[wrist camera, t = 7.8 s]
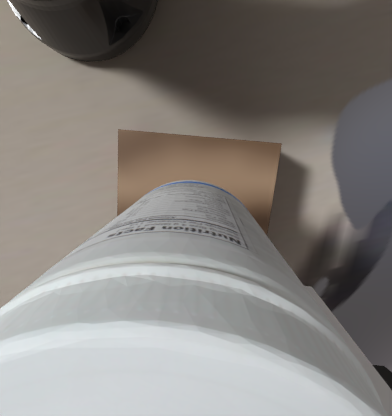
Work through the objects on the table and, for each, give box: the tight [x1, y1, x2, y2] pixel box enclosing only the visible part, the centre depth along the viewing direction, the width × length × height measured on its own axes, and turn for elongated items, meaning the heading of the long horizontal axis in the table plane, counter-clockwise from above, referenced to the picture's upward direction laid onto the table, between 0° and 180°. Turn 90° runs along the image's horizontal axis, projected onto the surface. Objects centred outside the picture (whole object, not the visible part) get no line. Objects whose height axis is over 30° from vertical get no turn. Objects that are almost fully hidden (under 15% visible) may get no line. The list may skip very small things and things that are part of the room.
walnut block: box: [117, 129, 281, 235], centre depth 28 cm, size 15×15×6 cm
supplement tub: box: [0, 180, 388, 416], centre depth 11 cm, size 10×10×15 cm
